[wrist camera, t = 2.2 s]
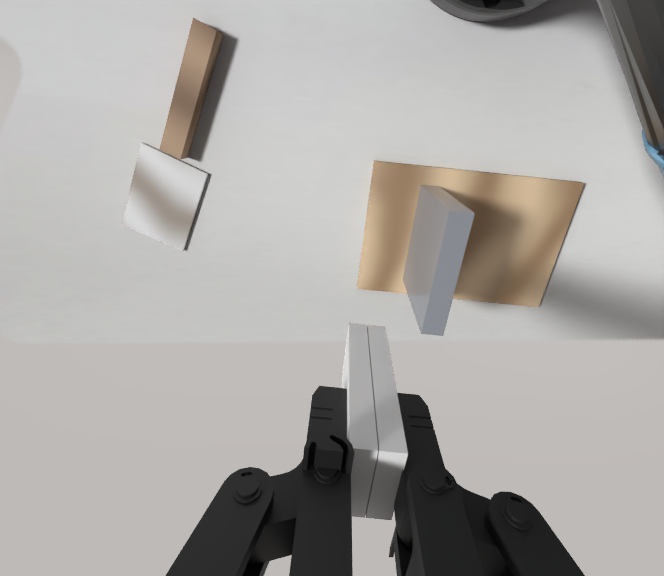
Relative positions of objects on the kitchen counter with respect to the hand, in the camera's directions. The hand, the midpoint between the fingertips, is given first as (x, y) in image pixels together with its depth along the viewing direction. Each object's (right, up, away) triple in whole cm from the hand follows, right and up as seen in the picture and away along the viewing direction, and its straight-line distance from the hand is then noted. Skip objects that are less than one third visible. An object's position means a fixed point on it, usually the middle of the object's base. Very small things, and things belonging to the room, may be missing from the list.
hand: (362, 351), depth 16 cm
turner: (-15, +15, +16) cm, 27 cm away
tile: (+7, +8, +18) cm, 21 cm away
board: (+11, +7, +18) cm, 23 cm away
